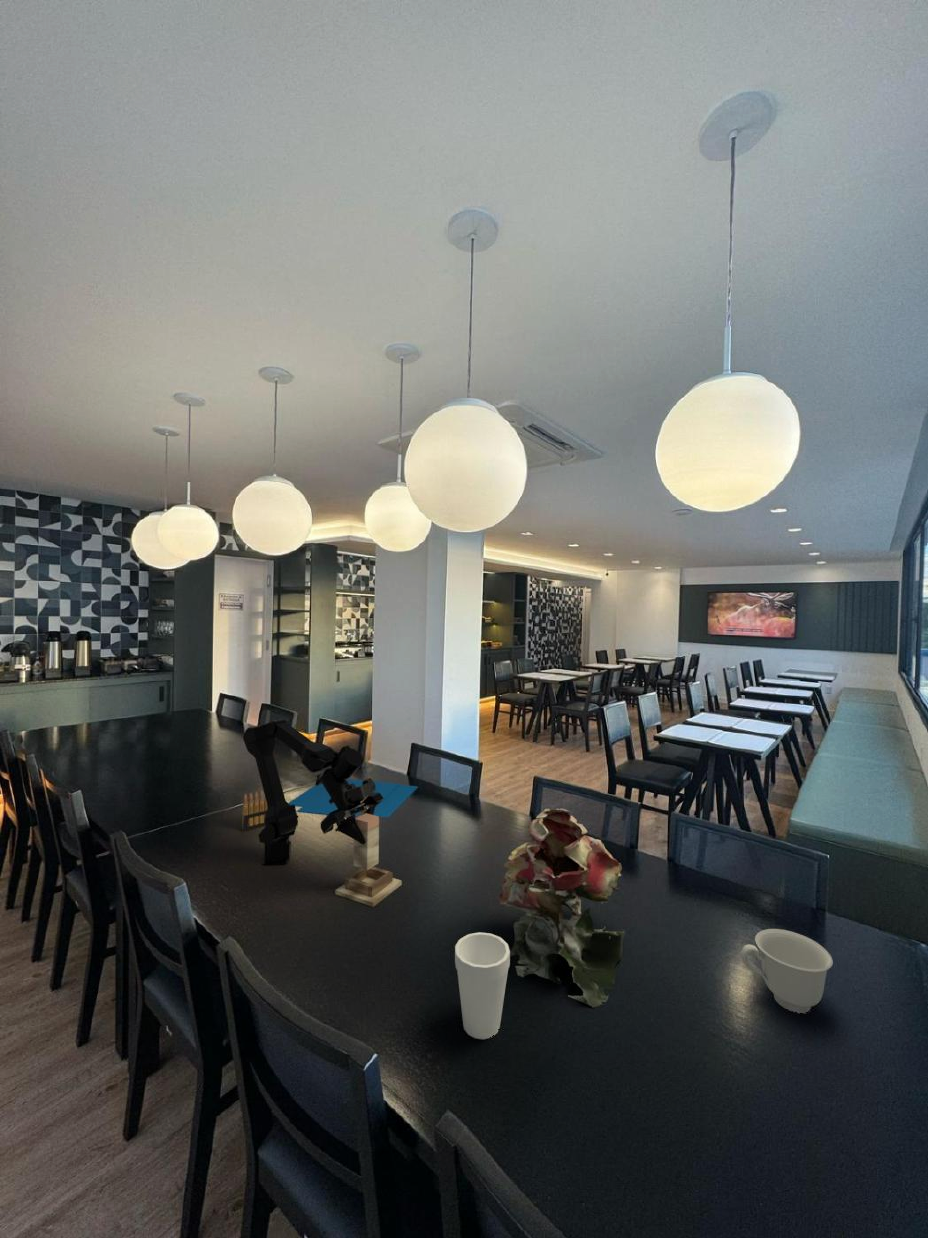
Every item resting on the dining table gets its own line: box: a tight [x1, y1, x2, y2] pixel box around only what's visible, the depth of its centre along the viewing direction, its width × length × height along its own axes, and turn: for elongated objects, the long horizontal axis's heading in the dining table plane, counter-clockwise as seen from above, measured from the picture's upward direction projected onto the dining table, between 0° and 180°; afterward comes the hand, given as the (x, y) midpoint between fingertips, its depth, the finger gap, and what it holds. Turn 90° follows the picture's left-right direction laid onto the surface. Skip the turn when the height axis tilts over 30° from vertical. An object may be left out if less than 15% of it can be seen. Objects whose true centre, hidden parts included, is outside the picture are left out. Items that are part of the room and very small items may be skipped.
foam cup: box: [454, 931, 511, 1040], centre depth 88 cm, size 10×9×13 cm
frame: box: [288, 778, 419, 819], centre depth 199 cm, size 42×36×2 cm
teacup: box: [740, 928, 834, 1014], centre depth 95 cm, size 12×15×10 cm
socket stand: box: [334, 866, 403, 908], centre depth 132 cm, size 12×12×4 cm
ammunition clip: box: [240, 789, 268, 832], centre depth 171 cm, size 11×2×12 cm, turn 131°
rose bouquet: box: [498, 808, 626, 1009], centre depth 109 cm, size 26×29×30 cm
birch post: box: [353, 813, 380, 870], centre depth 131 cm, size 4×4×12 cm
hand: (370, 840), depth 130 cm, fingers closed on birch post, 4 cm apart
